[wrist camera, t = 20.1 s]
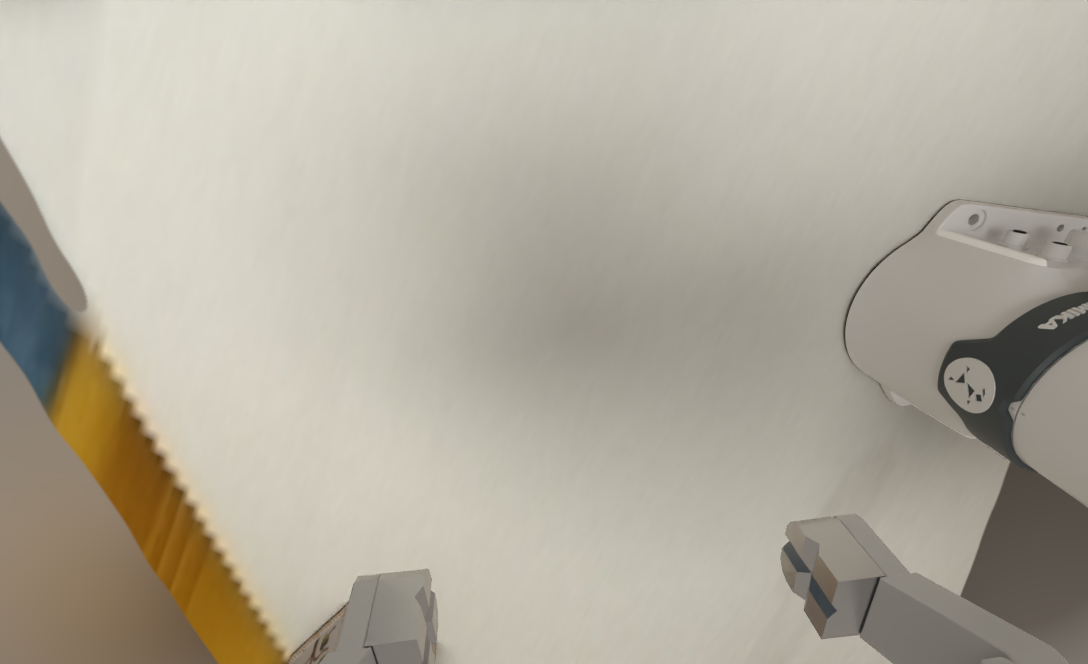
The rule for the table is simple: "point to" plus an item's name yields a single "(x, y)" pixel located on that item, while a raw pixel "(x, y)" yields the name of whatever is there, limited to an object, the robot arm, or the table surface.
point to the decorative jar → (324, 642)
